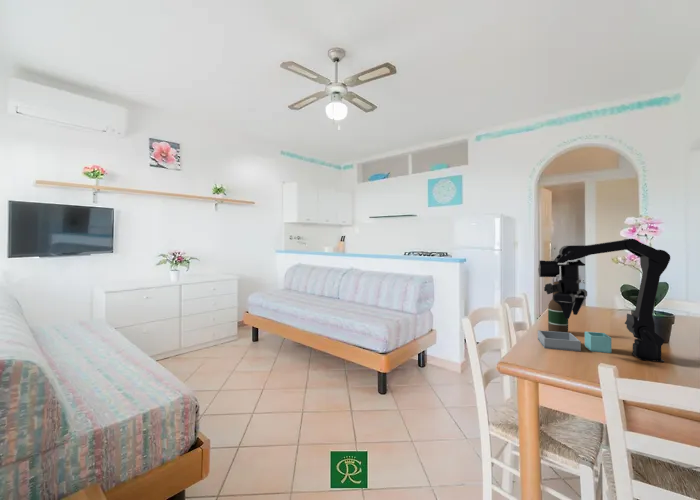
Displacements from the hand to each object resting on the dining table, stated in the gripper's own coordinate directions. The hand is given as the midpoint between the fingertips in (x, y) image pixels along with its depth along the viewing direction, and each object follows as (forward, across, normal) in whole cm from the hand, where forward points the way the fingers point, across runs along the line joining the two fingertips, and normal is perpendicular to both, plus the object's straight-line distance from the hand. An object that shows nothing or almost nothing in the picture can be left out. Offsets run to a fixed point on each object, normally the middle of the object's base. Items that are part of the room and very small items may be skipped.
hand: (571, 316), depth 117 cm
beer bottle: (+13, -21, -12) cm, 28 cm away
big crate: (+13, -2, -6) cm, 14 cm away
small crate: (+13, -8, +6) cm, 16 cm away
